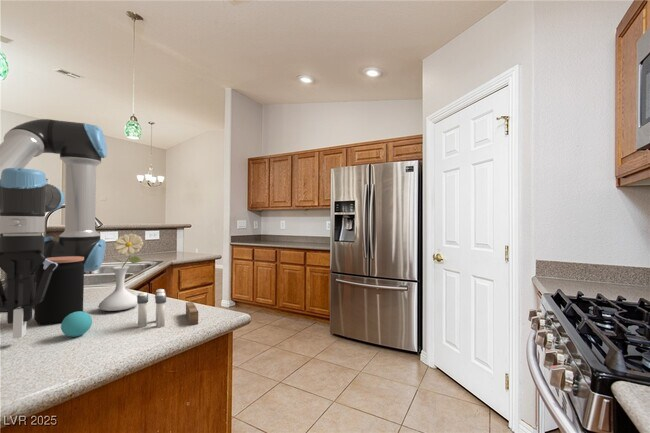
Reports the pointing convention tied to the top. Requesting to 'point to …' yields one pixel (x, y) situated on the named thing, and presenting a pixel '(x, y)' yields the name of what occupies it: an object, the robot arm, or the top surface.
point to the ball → (76, 324)
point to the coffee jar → (61, 290)
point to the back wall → (192, 313)
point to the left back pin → (158, 292)
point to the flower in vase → (123, 275)
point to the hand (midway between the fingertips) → (19, 336)
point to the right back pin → (160, 309)
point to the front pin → (142, 309)
